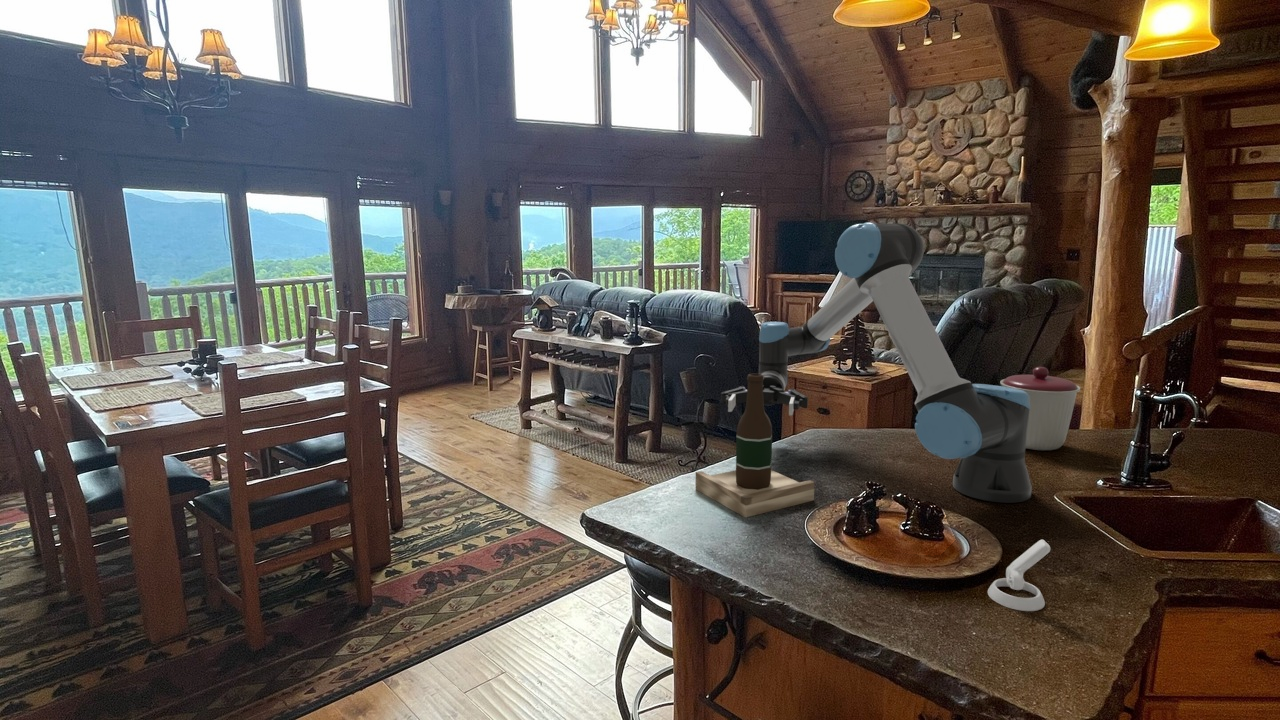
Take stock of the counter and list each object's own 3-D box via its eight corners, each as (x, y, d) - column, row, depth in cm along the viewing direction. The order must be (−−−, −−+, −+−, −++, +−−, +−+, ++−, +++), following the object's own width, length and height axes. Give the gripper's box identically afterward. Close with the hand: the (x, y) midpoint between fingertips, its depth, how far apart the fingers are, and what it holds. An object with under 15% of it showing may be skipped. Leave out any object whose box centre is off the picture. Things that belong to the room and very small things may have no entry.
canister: (981, 442, 181) (987, 365, 178) (1017, 432, 191) (1024, 358, 187) (1052, 460, 166) (1060, 376, 163) (1087, 447, 176) (1096, 368, 173)
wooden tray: (813, 500, 143) (814, 482, 142) (745, 517, 134) (745, 498, 133) (759, 475, 158) (760, 458, 157) (695, 489, 150) (695, 472, 149)
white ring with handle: (1092, 587, 96) (1052, 560, 95) (1028, 635, 101) (990, 610, 101) (1073, 554, 102) (1035, 528, 102) (1014, 600, 108) (978, 576, 107)
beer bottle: (731, 478, 149) (732, 371, 145) (765, 476, 150) (768, 370, 146) (740, 491, 142) (741, 378, 137) (776, 489, 142) (779, 377, 138)
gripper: (819, 405, 169) (816, 427, 149) (720, 399, 176) (705, 420, 156) (820, 375, 168) (817, 394, 148) (720, 371, 175) (705, 388, 155)
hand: (759, 407), depth 152 cm, fingers open, 13 cm apart
